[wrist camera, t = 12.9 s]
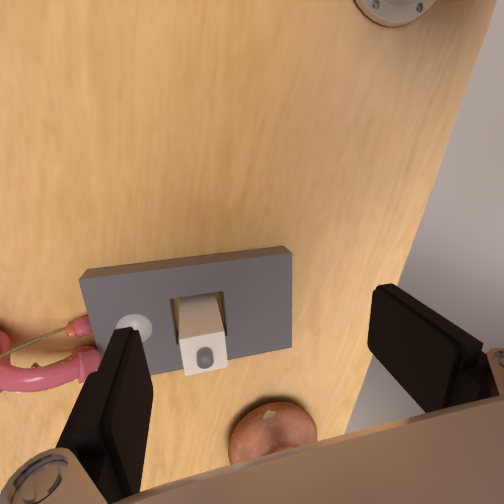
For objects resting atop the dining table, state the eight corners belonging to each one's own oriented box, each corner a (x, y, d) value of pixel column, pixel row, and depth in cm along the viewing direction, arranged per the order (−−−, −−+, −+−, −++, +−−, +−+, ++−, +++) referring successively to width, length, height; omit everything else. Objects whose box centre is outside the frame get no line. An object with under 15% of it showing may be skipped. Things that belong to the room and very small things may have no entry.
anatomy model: (120, 393, 34) (-88, 534, 20) (49, 341, 41) (-148, 418, 26) (127, 311, 31) (-112, 405, 17) (50, 268, 38) (-173, 309, 23)
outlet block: (283, 245, 37) (292, 253, 35) (284, 334, 42) (291, 347, 39) (87, 269, 32) (78, 280, 30) (112, 367, 37) (106, 384, 34)
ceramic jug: (218, 399, 43) (235, 504, 30) (306, 375, 46) (357, 463, 32) (232, 477, 49) (251, 594, 36) (309, 452, 52) (353, 552, 38)
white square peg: (213, 288, 37) (226, 338, 27) (216, 317, 38) (230, 375, 28) (179, 293, 36) (178, 347, 26) (184, 322, 37) (185, 385, 27)
